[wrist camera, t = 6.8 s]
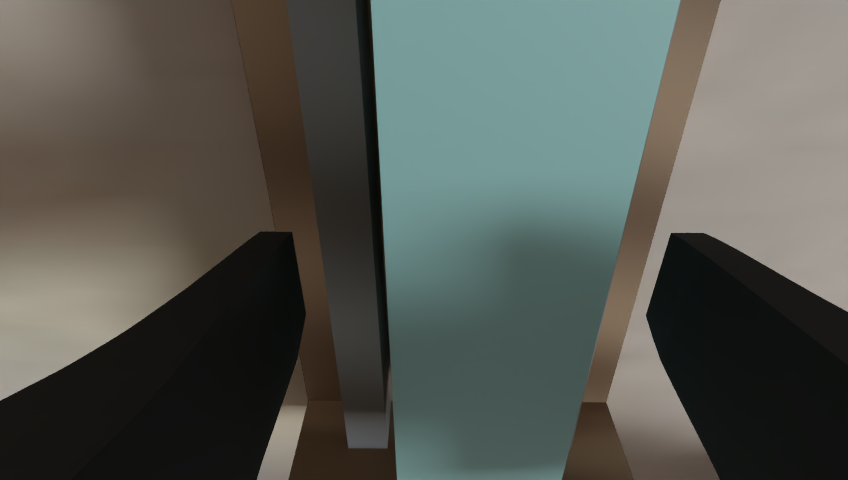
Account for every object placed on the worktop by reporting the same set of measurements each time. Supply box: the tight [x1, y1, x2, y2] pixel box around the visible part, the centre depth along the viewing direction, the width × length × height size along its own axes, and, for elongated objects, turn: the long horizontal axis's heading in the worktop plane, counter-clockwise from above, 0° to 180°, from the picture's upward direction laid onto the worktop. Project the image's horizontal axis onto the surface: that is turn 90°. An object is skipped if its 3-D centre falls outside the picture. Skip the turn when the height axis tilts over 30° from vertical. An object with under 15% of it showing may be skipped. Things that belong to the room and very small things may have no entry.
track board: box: [231, 0, 721, 480], centre depth 12 cm, size 19×10×5 cm, turn 0°
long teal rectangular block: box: [371, 0, 680, 480], centre depth 10 cm, size 12×3×6 cm, turn 0°
